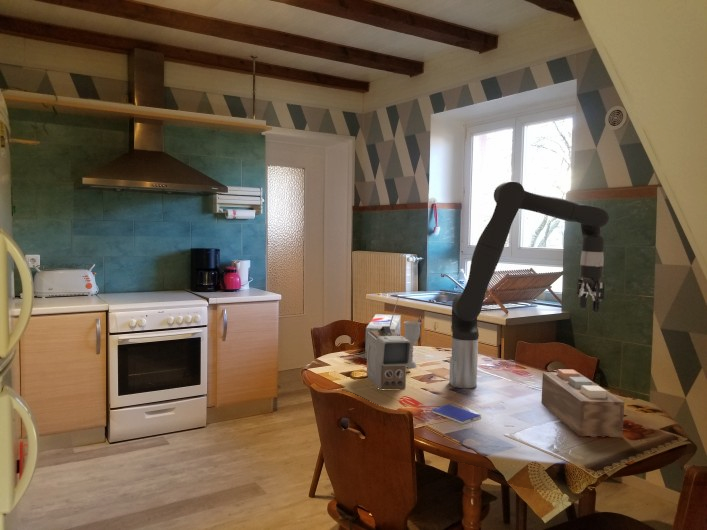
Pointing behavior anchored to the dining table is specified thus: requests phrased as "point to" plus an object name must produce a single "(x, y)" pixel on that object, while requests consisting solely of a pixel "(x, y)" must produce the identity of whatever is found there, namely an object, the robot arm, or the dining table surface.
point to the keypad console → (582, 408)
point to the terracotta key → (567, 373)
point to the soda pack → (382, 321)
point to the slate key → (579, 382)
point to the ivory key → (593, 391)
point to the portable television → (387, 358)
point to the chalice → (412, 337)
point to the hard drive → (456, 414)
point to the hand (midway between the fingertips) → (588, 309)
